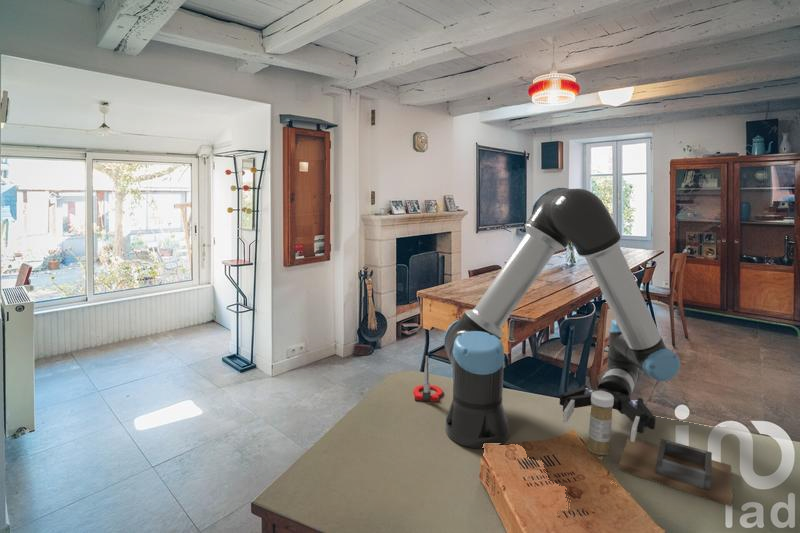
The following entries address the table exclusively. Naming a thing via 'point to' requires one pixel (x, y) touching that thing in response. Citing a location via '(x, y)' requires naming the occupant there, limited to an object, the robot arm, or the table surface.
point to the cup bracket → (679, 468)
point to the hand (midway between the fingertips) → (597, 426)
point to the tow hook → (427, 388)
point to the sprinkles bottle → (600, 422)
